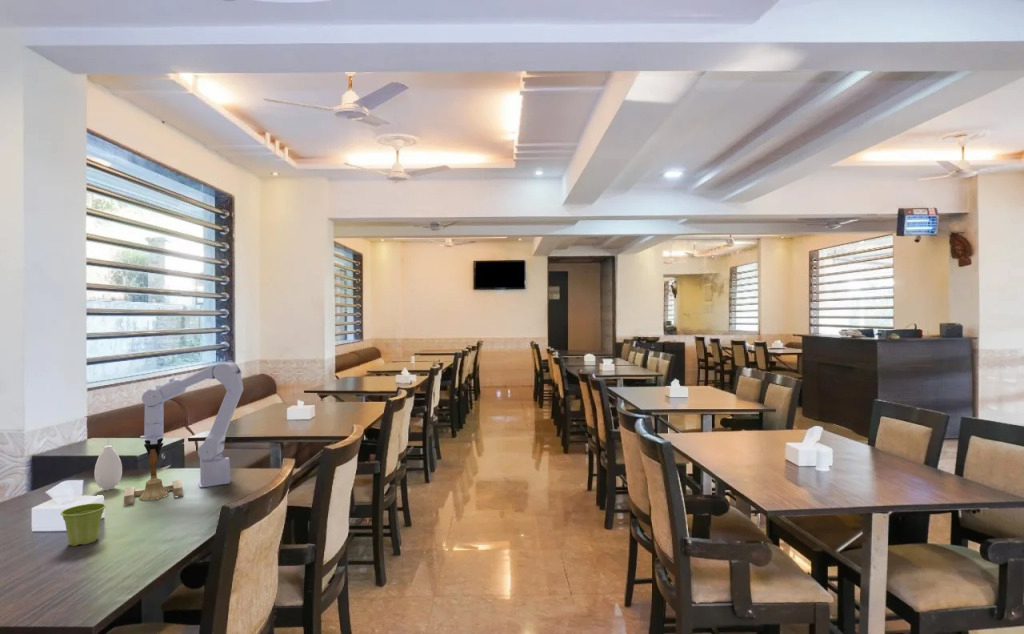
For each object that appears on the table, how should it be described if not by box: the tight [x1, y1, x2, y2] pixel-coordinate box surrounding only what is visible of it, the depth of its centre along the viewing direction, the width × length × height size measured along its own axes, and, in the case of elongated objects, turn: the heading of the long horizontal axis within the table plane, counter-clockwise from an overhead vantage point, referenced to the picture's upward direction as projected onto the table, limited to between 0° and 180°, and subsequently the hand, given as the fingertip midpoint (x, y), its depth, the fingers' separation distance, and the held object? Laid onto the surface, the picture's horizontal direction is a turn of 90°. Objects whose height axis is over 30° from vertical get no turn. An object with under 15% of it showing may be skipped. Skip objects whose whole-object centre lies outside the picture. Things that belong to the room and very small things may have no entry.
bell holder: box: [123, 479, 184, 506], centre depth 183 cm, size 16×11×3 cm
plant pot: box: [60, 502, 107, 547], centre depth 144 cm, size 9×9×9 cm
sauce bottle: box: [93, 438, 123, 491], centre depth 193 cm, size 8×8×18 cm
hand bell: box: [138, 449, 169, 501], centre depth 184 cm, size 8×8×16 cm
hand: (153, 461), depth 194 cm, fingers open, 7 cm apart
